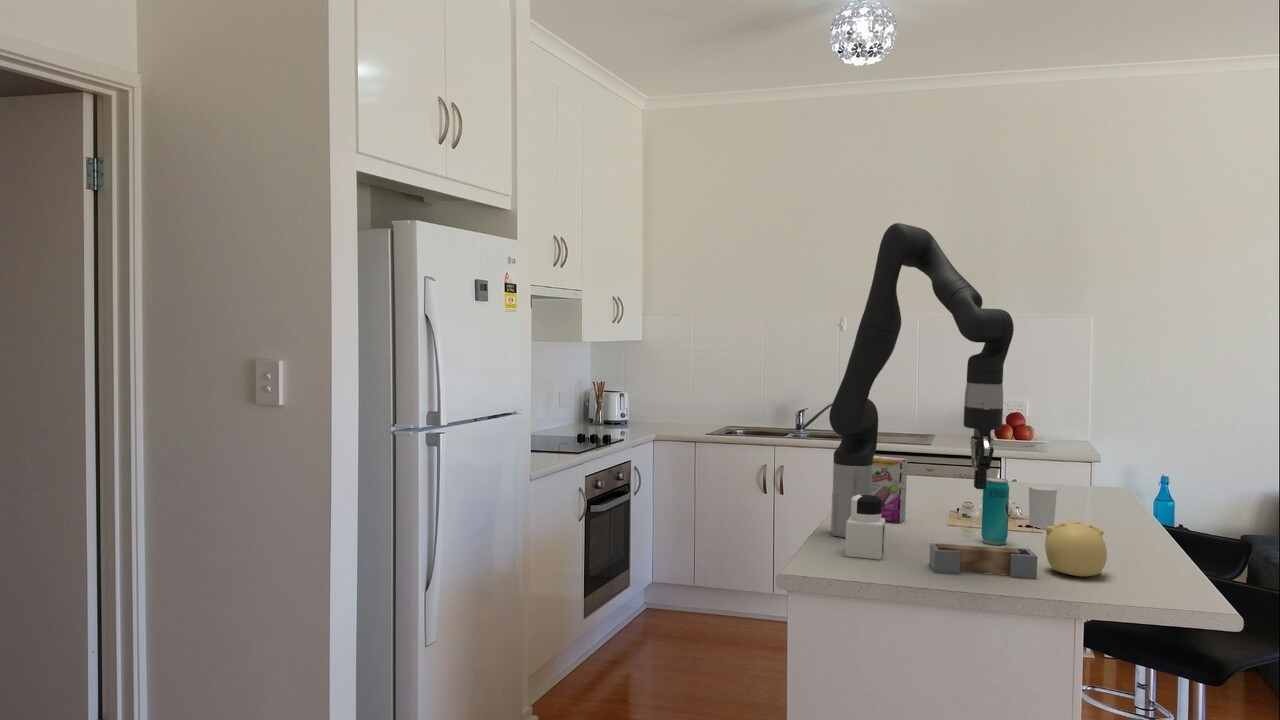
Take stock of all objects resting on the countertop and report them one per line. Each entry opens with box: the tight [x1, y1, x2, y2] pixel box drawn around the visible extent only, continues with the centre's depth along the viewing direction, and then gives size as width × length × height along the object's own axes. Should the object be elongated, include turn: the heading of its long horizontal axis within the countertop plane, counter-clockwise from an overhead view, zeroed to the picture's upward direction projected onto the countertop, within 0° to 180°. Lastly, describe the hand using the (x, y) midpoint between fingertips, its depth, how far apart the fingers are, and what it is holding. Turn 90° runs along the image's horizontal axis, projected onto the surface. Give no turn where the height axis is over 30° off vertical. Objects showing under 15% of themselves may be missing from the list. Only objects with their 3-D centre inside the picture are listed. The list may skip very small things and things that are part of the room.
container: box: [844, 495, 886, 561], centre depth 211 cm, size 8×8×13 cm
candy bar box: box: [872, 455, 908, 524], centre depth 251 cm, size 11×5×16 cm, turn 58°
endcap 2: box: [1003, 547, 1038, 579], centre depth 198 cm, size 5×7×4 cm
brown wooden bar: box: [937, 543, 1020, 576], centre depth 199 cm, size 16×4×5 cm, turn 78°
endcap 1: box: [929, 542, 960, 575], centre depth 200 cm, size 5×7×4 cm
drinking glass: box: [1028, 485, 1058, 530], centre depth 246 cm, size 7×7×10 cm
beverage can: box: [981, 477, 1010, 546], centre depth 226 cm, size 6×6×15 cm
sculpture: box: [1044, 520, 1108, 577], centre depth 199 cm, size 11×12×11 cm
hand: (979, 488), depth 199 cm, fingers closed
